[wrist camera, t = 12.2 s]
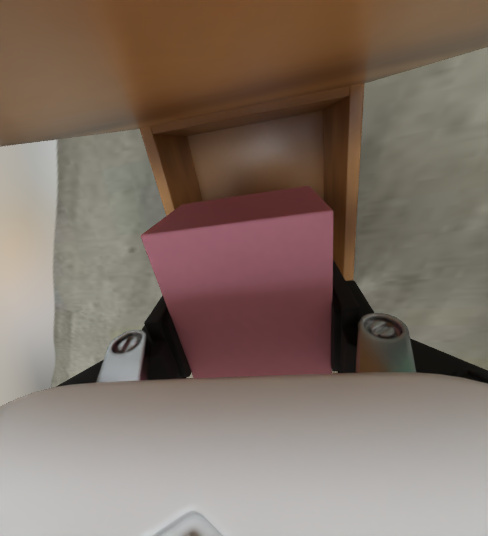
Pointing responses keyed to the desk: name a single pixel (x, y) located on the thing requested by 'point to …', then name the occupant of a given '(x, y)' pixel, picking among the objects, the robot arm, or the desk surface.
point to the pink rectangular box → (249, 282)
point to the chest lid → (205, 56)
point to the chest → (268, 156)
